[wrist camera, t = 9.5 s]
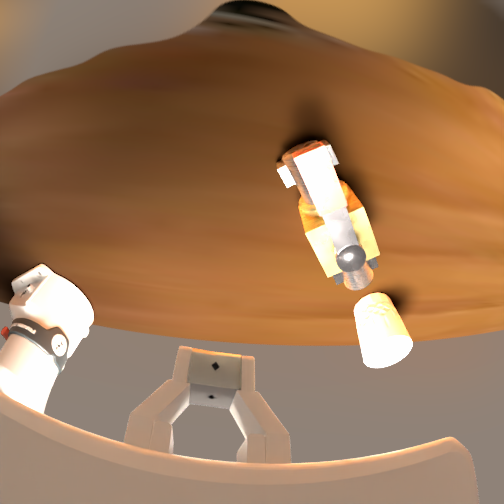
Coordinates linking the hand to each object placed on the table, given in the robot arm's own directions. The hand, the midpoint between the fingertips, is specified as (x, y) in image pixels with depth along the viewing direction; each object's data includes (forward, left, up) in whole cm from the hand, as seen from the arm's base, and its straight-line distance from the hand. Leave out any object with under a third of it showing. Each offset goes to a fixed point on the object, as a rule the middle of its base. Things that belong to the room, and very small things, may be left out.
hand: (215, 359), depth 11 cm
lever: (+8, -3, -18) cm, 20 cm away
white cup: (+17, -26, -26) cm, 41 cm away
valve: (+10, -8, -26) cm, 29 cm away
